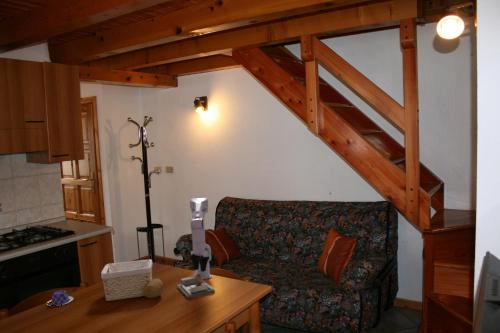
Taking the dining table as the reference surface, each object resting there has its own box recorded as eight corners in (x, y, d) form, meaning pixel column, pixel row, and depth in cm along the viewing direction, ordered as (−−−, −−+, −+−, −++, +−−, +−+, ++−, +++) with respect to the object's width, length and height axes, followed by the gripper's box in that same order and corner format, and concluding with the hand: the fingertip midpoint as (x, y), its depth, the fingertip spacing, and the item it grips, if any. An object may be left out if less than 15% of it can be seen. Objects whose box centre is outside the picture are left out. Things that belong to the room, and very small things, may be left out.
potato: (167, 290, 204) (166, 275, 204) (159, 301, 190) (158, 285, 190) (148, 291, 205) (147, 276, 204) (139, 302, 191) (138, 286, 190)
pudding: (62, 308, 190) (61, 297, 190) (41, 307, 193) (40, 296, 192) (78, 298, 202) (77, 287, 202) (58, 297, 204) (57, 287, 204)
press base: (177, 287, 208) (176, 279, 208) (202, 282, 214) (202, 273, 214) (187, 299, 192) (186, 289, 192) (214, 292, 198) (214, 283, 198)
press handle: (190, 290, 197) (189, 275, 197) (205, 287, 201) (204, 272, 200) (192, 292, 194) (191, 277, 194) (207, 289, 198) (206, 274, 197)
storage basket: (102, 303, 193) (99, 273, 192) (107, 290, 209) (105, 263, 208) (153, 296, 197) (150, 267, 196) (154, 285, 213) (152, 258, 212)
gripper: (184, 242, 202) (186, 270, 201) (197, 244, 190) (199, 273, 189) (197, 241, 206) (198, 268, 205) (210, 242, 194) (212, 271, 193)
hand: (199, 270), depth 197 cm, fingers open, 7 cm apart
